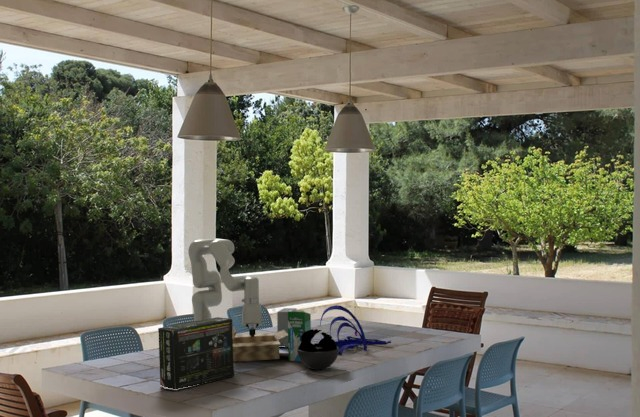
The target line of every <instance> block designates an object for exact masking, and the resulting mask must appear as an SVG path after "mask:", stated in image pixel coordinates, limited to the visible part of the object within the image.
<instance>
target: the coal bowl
mask: <svg viewBox="0 0 640 417" xmlns="http://www.w3.org/2000/svg"><path fill="white" fill-rule="evenodd" d="M319 333H321V336H322V337H323V338H322V337H321V339H322V340H321V339H319V342H316V343H312V340H313V339H314V337H315V336H316V335H317V334H319ZM335 342H336V341H335V340H334V339H333V337H332V335H331V336H330V334H329V333H326V332H324V331H322V329H318V328H317V329H316V328H315V329H313V328H311V330H308V331H305V332H304V333H303V335H302V336H301V344H300V345H299V347H298V348H297V352H298V356H299V358H300V360H301V361H300V362H301V363H302V364H304V365H305V367H308V368H309V369H311V370H317V371H319V370H320V371H321V370H324V369H327V368H330V367H331V366H332V365H333V364H334V363H335V361H336V360H337V358H338V356H339V354H338V353H339V350H340V349H339V347H337V346H336V344H335Z"/></svg>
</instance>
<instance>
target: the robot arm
mask: <svg viewBox="0 0 640 417" xmlns="http://www.w3.org/2000/svg"><path fill="white" fill-rule="evenodd" d="M188 246H189V247H188V249H187V250H188V252H187V253H188V257H189V260H190V265H191V268H190V269H191V276H192V285H193V287H194V288H197V289H205V288H206V289H205V290H198V291H196V292H194V293H193V295H192V296H191V303H192V309H193V322H194V321H200V320H205V319H211V318H212V317H213V316H212V314H211V311H210V309H209V308H211V307H217V306H220V304H221V302H222V301H223V300H222V299H223V294H222V293H223V292H222V284H221V282H222V283H223V285H224V286H225V288H226V289H227V290H229V291H230V292H233V293H234V292H240V291H243V294H244V296H243V298H242V299H241V303H243V305H242V311H241V320H242V321H241V326H244V327H247V329H248V331H249V332H248V334H249V335H251V337H252V336H253V337H254V335H255V334H256V329H257V328H258V327H259V326H261V325H262V326H263V324H264V323H263V314H262V313H263V312H262V311H263V310H262V305H261V303H260V296H259V295H260V294H259V292H260V289H259V285H260V284H259V278H258V277H255V276H249V275H239V276H233V275H232V274H231V272H230V270H229V269H230V268H232V267H233V266H234V264H235V262H236V261H235V260H236V259H235V257H234V256H233V255H232V254H233V253H234V252H235V245H234V242H233V241H231V240H230V239H223V238H207V239H206V238H205V239H204V238H203V239H202V238H201V239H196V240H194V241H192V242H191V243H190V244H189V245H188ZM205 255H212V257H213V259H215V261H216V263H217V264H218V265H219V267H220V271H219V273H218V271H216V270H214V269H208V265H207V263H208V262H207V260H206V259H205V257H203V256H205ZM207 288H208V289H207ZM252 324H253V327H252Z"/></svg>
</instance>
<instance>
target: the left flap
mask: <svg viewBox="0 0 640 417" xmlns="http://www.w3.org/2000/svg"><path fill="white" fill-rule="evenodd" d="M235 335H237V330H236V328H235V326H233V325H232V336H233V341H234V338H235Z"/></svg>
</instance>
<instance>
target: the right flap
mask: <svg viewBox="0 0 640 417" xmlns="http://www.w3.org/2000/svg"><path fill="white" fill-rule="evenodd" d="M274 335H275V336H276V338H277V339H278V340H281V339H283V338H286V337H288V334H287V333H286V332H285V330H282V331H280V332H275V333H274Z"/></svg>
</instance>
